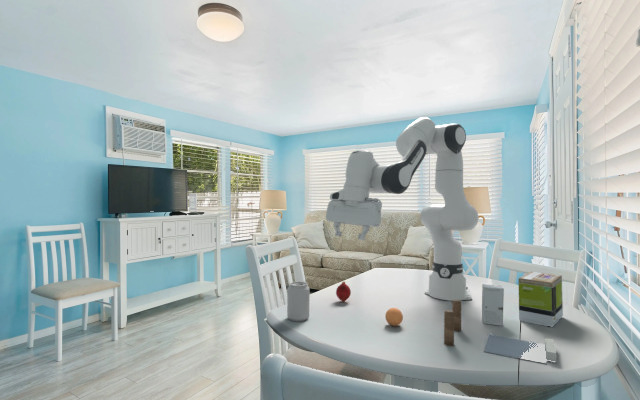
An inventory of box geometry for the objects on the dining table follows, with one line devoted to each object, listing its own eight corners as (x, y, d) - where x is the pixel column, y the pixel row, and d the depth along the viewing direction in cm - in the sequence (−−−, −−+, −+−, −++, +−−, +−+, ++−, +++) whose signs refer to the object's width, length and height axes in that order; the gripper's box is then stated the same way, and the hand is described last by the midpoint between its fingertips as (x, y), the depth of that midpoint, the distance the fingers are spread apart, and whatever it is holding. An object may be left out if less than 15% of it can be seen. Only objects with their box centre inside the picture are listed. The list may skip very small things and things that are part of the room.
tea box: (530, 311, 128) (530, 270, 128) (563, 317, 121) (563, 275, 121) (517, 320, 118) (518, 276, 118) (552, 328, 111) (553, 281, 111)
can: (312, 316, 121) (312, 281, 121) (304, 323, 114) (304, 286, 114) (292, 313, 123) (292, 279, 123) (283, 320, 116) (283, 284, 116)
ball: (388, 321, 116) (388, 304, 116) (405, 324, 113) (405, 307, 113) (382, 326, 111) (382, 309, 111) (399, 329, 109) (399, 311, 109)
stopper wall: (544, 347, 96) (544, 338, 96) (553, 348, 95) (553, 339, 95) (546, 361, 87) (546, 351, 87) (556, 363, 86) (556, 353, 86)
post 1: (445, 341, 100) (445, 309, 100) (454, 343, 98) (454, 311, 98) (443, 344, 97) (443, 312, 97) (453, 346, 96) (453, 313, 96)
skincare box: (483, 324, 114) (483, 286, 114) (481, 319, 118) (481, 283, 119) (504, 326, 112) (504, 288, 112) (501, 321, 117) (501, 285, 117)
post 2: (453, 327, 110) (453, 299, 110) (461, 329, 109) (461, 300, 109) (451, 330, 108) (451, 301, 108) (460, 332, 107) (460, 302, 107)
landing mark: (488, 334, 105) (488, 334, 105) (544, 344, 98) (544, 344, 98) (484, 351, 93) (484, 351, 93) (547, 364, 86) (547, 363, 86)
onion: (349, 304, 136) (349, 283, 136) (335, 303, 137) (335, 282, 137) (351, 300, 141) (351, 280, 141) (337, 299, 142) (337, 279, 142)
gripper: (387, 200, 113) (381, 242, 112) (337, 197, 126) (331, 235, 125) (377, 196, 108) (371, 241, 107) (326, 194, 122) (320, 233, 120)
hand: (349, 238), depth 116 cm, fingers open, 8 cm apart
